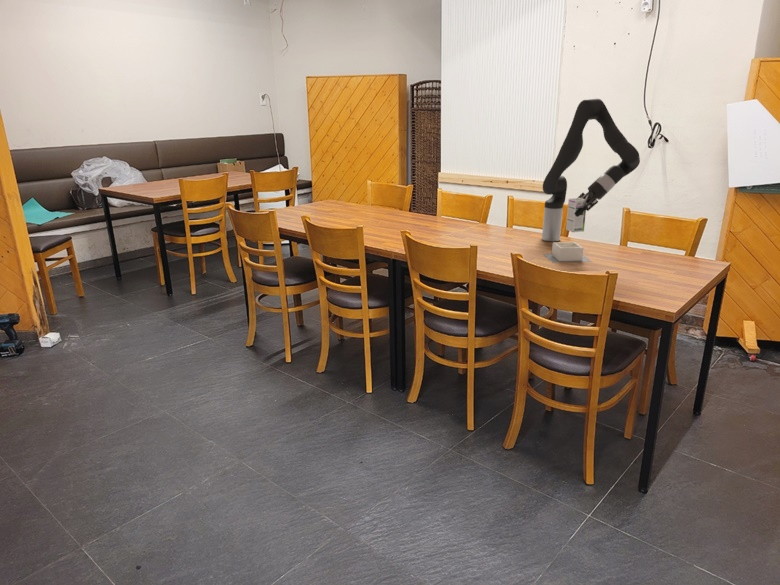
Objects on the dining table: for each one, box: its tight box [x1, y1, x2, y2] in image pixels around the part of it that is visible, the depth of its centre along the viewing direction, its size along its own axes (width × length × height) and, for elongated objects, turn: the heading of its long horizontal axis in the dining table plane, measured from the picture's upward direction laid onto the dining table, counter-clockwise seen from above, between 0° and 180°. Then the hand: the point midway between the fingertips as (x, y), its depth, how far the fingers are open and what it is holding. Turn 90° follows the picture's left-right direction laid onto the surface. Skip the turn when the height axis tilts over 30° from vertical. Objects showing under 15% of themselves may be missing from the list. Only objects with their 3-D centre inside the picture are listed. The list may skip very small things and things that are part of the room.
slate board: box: [542, 253, 593, 264], centre depth 252 cm, size 14×18×2 cm
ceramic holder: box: [551, 241, 584, 261], centre depth 251 cm, size 10×10×6 cm
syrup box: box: [565, 197, 587, 233], centre depth 245 cm, size 6×6×14 cm
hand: (572, 213), depth 245 cm, fingers closed on syrup box, 6 cm apart
